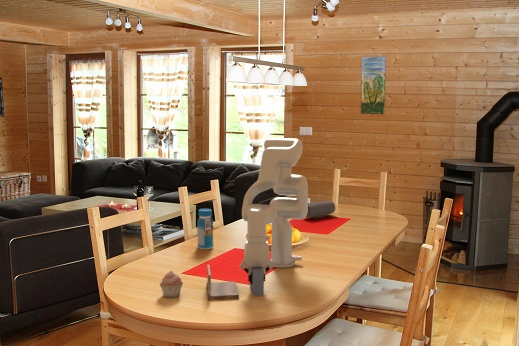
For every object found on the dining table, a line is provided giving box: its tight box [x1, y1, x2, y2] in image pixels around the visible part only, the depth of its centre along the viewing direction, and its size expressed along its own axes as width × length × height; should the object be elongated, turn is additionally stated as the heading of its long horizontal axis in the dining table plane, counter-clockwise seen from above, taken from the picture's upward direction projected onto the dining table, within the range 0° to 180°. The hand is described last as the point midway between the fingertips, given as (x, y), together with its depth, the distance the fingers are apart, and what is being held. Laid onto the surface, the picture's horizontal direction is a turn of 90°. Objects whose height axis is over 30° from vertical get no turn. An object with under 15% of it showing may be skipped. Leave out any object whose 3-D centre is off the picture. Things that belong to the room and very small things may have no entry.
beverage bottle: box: [196, 208, 214, 250], centre depth 298 cm, size 8×8×20 cm
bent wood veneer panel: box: [205, 264, 240, 301], centre depth 232 cm, size 12×16×10 cm
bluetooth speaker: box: [305, 200, 336, 220], centre depth 374 cm, size 23×9×10 cm, turn 130°
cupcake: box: [159, 270, 184, 299], centre depth 228 cm, size 9×9×10 cm
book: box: [249, 267, 265, 297], centre depth 234 cm, size 4×12×10 cm, turn 8°
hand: (256, 282), depth 234 cm, fingers closed on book, 4 cm apart
